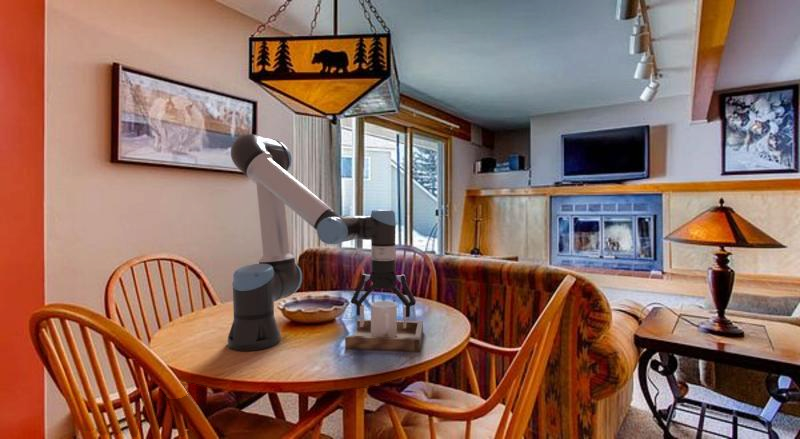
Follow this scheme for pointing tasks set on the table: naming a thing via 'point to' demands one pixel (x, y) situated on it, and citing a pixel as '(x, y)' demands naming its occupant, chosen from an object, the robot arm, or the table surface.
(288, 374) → the table surface
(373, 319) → the mug
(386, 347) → the tray
